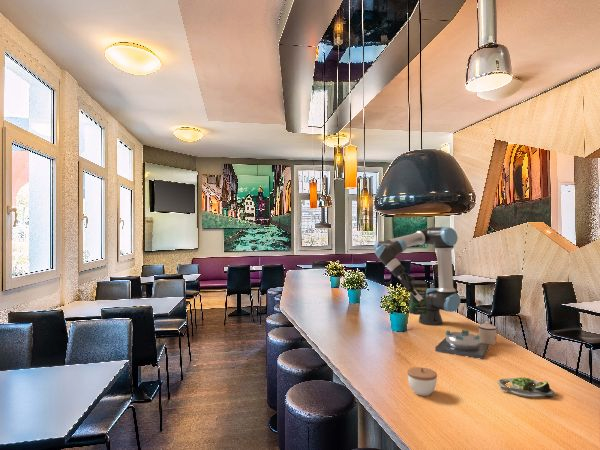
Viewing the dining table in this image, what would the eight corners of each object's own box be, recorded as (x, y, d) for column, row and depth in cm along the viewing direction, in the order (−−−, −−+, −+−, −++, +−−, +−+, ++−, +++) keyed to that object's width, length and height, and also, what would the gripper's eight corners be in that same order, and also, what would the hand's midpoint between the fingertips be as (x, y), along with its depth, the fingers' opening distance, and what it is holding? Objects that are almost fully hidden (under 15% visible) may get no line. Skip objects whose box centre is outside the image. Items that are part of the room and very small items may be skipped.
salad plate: (514, 402, 136) (514, 389, 136) (485, 382, 154) (485, 371, 154) (564, 400, 138) (564, 387, 138) (530, 381, 155) (530, 370, 156)
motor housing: (445, 340, 211) (445, 326, 211) (489, 347, 199) (488, 332, 199) (435, 351, 193) (435, 334, 193) (482, 359, 181) (482, 342, 181)
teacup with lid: (500, 345, 204) (499, 323, 204) (483, 345, 203) (483, 323, 204) (488, 338, 216) (488, 318, 216) (472, 339, 215) (472, 318, 216)
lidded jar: (408, 384, 150) (408, 361, 150) (437, 389, 146) (437, 365, 147) (406, 395, 140) (406, 370, 141) (436, 400, 136) (436, 374, 137)
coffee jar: (412, 315, 205) (412, 281, 205) (406, 312, 212) (407, 279, 213) (429, 315, 205) (429, 281, 206) (423, 312, 213) (423, 279, 214)
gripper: (398, 270, 227) (424, 299, 218) (384, 273, 209) (412, 305, 200) (407, 262, 224) (434, 291, 215) (393, 265, 206) (422, 297, 197)
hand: (423, 298), depth 207 cm, fingers closed on coffee jar, 9 cm apart
